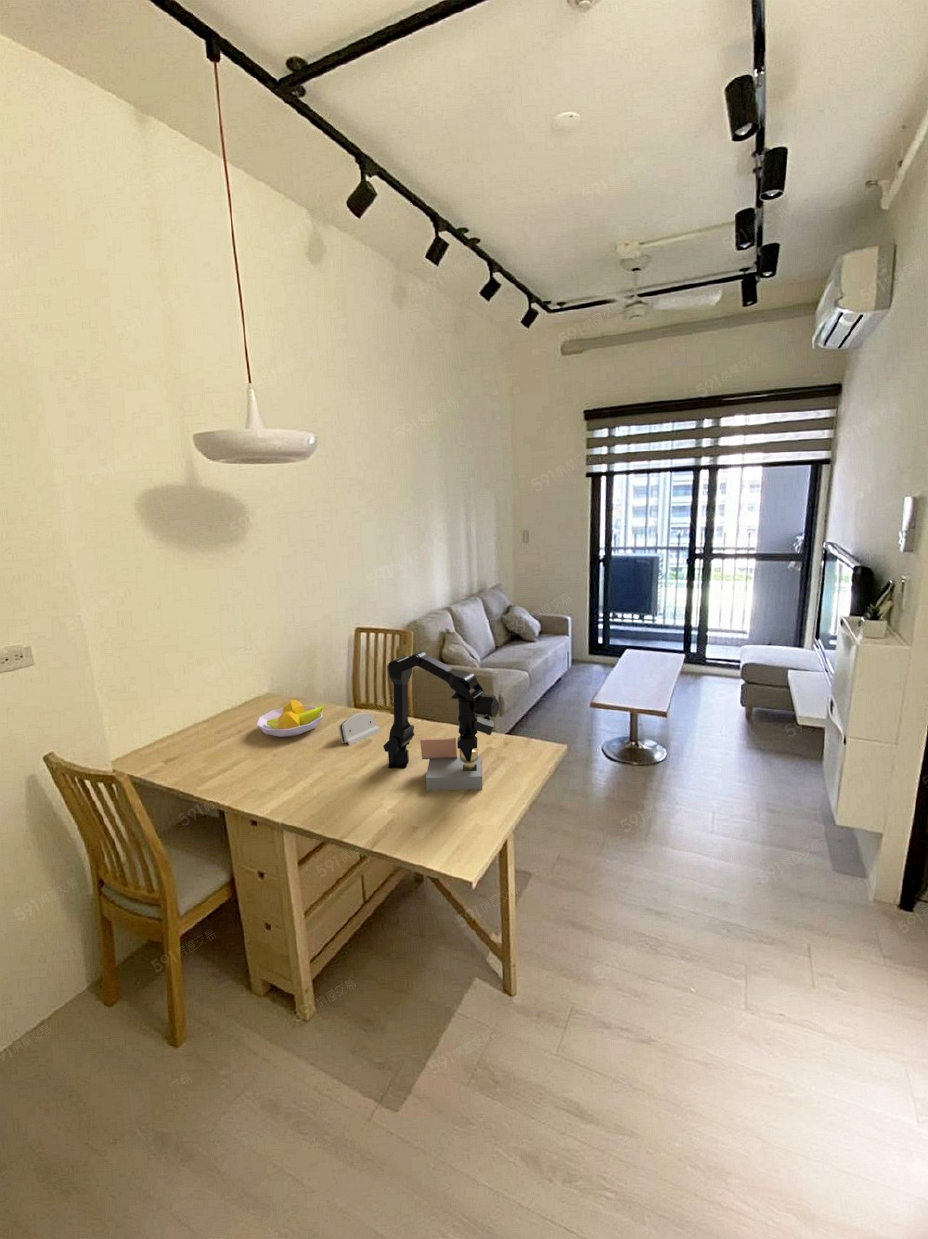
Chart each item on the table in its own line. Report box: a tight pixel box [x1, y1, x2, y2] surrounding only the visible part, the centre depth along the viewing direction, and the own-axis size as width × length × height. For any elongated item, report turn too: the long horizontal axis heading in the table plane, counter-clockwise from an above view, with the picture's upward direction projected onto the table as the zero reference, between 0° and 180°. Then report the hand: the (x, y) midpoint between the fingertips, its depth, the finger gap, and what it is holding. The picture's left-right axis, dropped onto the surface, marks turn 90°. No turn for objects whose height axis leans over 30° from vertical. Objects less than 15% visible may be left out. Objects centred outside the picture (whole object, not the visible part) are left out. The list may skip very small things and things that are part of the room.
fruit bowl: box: [256, 699, 327, 737], centre depth 230 cm, size 28×27×11 cm
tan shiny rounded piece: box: [459, 747, 479, 771], centre depth 181 cm, size 6×6×7 cm
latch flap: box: [419, 737, 458, 760], centre depth 187 cm, size 12×1×9 cm, turn 88°
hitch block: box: [425, 755, 483, 791], centre depth 184 cm, size 18×14×4 cm
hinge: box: [338, 712, 381, 746], centre depth 221 cm, size 17×5×10 cm, turn 140°
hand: (469, 756), depth 181 cm, fingers closed on tan shiny rounded piece, 6 cm apart
